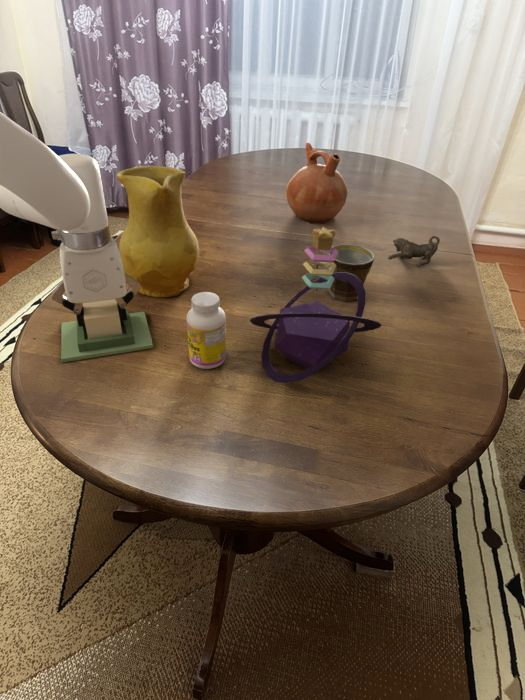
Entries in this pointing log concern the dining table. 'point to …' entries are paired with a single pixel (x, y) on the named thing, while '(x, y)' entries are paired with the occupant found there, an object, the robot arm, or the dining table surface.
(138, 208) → the pitcher
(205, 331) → the supplement bottle
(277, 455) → the dining table surface
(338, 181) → the jug
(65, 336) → the green rectangular tray
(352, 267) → the ceramic cup
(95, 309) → the beige cube block
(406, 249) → the dog figurine
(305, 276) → the purple faceted ringed piece
